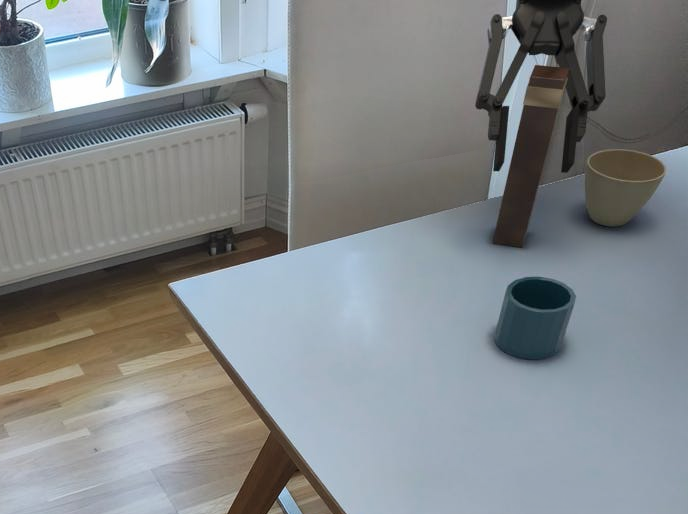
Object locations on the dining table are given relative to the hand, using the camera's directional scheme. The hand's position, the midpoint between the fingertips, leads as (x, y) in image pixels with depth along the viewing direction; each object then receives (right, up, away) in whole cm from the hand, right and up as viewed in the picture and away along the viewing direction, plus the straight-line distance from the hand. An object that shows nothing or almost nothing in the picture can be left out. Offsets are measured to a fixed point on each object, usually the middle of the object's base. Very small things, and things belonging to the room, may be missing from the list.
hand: (532, 167), depth 109 cm
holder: (-2, -23, -5) cm, 24 cm away
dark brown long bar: (+1, -4, +11) cm, 11 cm away
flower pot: (+15, 0, +13) cm, 21 cm away
